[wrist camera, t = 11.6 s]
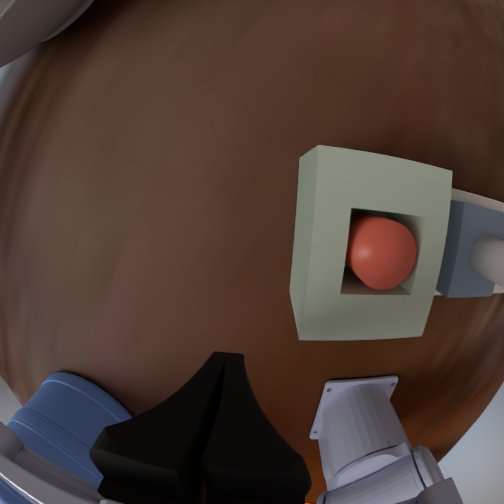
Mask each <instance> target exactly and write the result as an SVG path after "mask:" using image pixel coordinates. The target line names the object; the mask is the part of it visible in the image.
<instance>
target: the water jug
mask: <svg viewBox="0 0 504 504" xmlns="http://www.w3.org/2000/svg"><path fill="white" fill-rule="evenodd" d="M131 418H133V417H132V416H131V415H130V414H129V412H128V411H127V410H126V409H125V408H124V407H123V406H122V405H121V404H120V403H119V402H118V401H116V400H115V399H114V398H113V397H112V396H110V395H109V394H108V393H107V392H105V391H104V390H102V389H101V388H99V387H98V386H96V385H95V384H93V383H91V382H90V381H88V380H86V379H84V378H82V377H79V376H77V375H74V374H71V373H66V372H57V373H54V374H52V375H50V376H49V377H48V378H47V379H46V380H45V381H44V382H43V384H42V386H41V387H40V388H39V389H38V391H37V392H36V393H35V394H34V395H33V396H32V397H31V398H30V399H29V400H28V402H27V403H26V404H25V405H24V406H23V407H22V408H21V409H20V410H18V411H17V412H16V413H15V414H14V416H13V417H12V418H11V420H10V422H9V423H8V425H7V427H8V428H9V429H11V430H12V431H13V432H14V433H15V434H16V435H17V436H18V437H19V438H20V439H21V441H22V442H23V444H24V445H25V446H27V447H28V448H30V449H31V450H33V451H34V452H36V453H37V454H39V455H40V456H42V457H44V458H45V459H47V460H49V461H50V462H52V463H54V464H55V465H57V466H59V467H61V468H63V469H64V470H66V471H68V472H70V473H72V474H74V475H76V476H78V477H80V478H82V479H84V480H86V481H89V482H91V483H93V484H95V485H97V486H99V485H100V483H101V481H102V479H103V475H102V474H101V473H100V471H99V470H98V469H97V467H96V466H95V465H94V463H93V462H92V460H91V458H90V456H89V451H90V449H91V448H92V446H93V444H94V442H95V441H96V439H97V437H98V436H99V434H100V433H101V432H102V430H103V429H104V428H105V427H106V426H110V425H113V424H117V423H120V422H123V421H126V420H128V419H131ZM0 504H33V503H32V502H30V501H29V500H27V499H26V498H25V497H24V496H22V495H21V494H20V493H18V492H17V491H16V490H15V489H13V488H12V487H11V486H10V485H9V484H7V483H6V482H5V481H4V480H3V479H2V478H1V477H0Z"/></svg>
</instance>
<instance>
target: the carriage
mask: <svg viewBox="0 0 504 504" xmlns="http://www.w3.org/2000/svg"><path fill="white" fill-rule="evenodd" d="M495 283H496V284H497V285H499V286H501V287H502V288H504V212H500V211H496V210H493V209H489V208H485V207H482V206H478V205H474V204H470V203H465V202H460V201H454V200H451V202H450V212H449V220H448V228H447V235H446V241H445V247H444V253H443V258H442V263H441V268H440V272H439V277H438V281H437V285H436V289H435V290H437V291H438V292H439V293H441V294H442V295H443V296H445V297H446V298H461V297H483V296H492V294H493V290H494V286H495Z"/></svg>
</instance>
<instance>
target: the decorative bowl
mask: <svg viewBox="0 0 504 504" xmlns="http://www.w3.org/2000/svg"><path fill="white" fill-rule="evenodd" d="M93 1H94V0H0V68H1V67H3V66H5V65H6V64H8V63H10V62H12V61H13V60H15V59H17V58H19V57H20V56H22V55H23V54H25V53H26V52H28V51H29V50H31V49H32V48H34V47H35V46H36V45H38V44H39V43H41V42H44V41H47V40H49V39H51V38H53V37H54V36H56V35H57V34H59V33H60V32H62V31H63V30H64V29H66V28H67V27H68V26H69V25H70V24H72V23H73V22H74V21H75V20H76V19H77V18H78V17H79V16H80V15H81V14H82V13H83V12H84V11H85V10H86V9H87V8H88V7H89V6H90V5H91V4H92V2H93Z"/></svg>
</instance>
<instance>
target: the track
mask: <svg viewBox="0 0 504 504" xmlns="http://www.w3.org/2000/svg"><path fill="white" fill-rule="evenodd" d="M451 200H454V201H460V202H465V203H470V204H474V205H478V206H482V207H485V208H489V209H493V210H496V211H500V212H504V203H502V202H499V201H496V200H493V199H490V198H486V197H483V196H479V195H476V194H472V193H469V192H465V191H461V190H457V189H453V188H452V171H450V170H446V169H443V168H439V167H435V166H431V165H428V164H423V163H419V162H415V161H411V160H406V159H402V158H397V157H392V156H387V155H382V154H376V153H371V152H365V151H359V150H352V149H346V148H338V147H331V146H323V145H317V146H316V147H315V148H313V149H312V150H310V151H309V152H307V153H306V154H305V155H303V156H302V157H300V158H299V177H298V193H297V209H296V222H295V235H294V247H293V259H292V269H291V280H290V290H289V292H290V297H291V301H292V306H293V311H294V316H295V321H296V326H297V331H298V336H299V340H370V339H390V338H405V337H417V336H422V333H423V330H424V327H425V324H426V321H427V318H428V315H429V311H430V308H431V304H432V301H433V297H434V295H442V294H441V293H439V292H438V291H437V290H435V289H436V285H437V281H438V277H439V272H440V268H441V263H442V258H443V253H444V247H445V241H446V235H447V228H448V220H449V212H450V202H451ZM356 212H369V213H372V214H375V215H378V216H381V217H384V218H387V219H390V220H393V221H396V222H398V223H401V224H402V225H404V226H405V227H407V229H408V230H409V231H410V232H411V234H412V236H413V238H414V240H415V244H416V258H415V263H414V265H413V268H412V270H411V272H410V273H409V275H408V276H407V277H406V279H405V280H404V281H402V282H401V283H400V284H399V285H397V286H395V287H393V288H390V289H386V290H377V289H373V288H371V287H369V286H367V285H366V284H365V283H364V282H363V281H362V280H361V279H360V278H359V277H358V276H357V275H356V274H355V273H354V272H353V270H352V269H351V268H350V267H349V266H348V265H347V264H346V263H345V258H346V251H347V243H348V234H349V225H350V215H351V214H353V213H356ZM493 293H504V288H502V287H501V286H499V285H497V284H496V283H495V286H494V290H493Z"/></svg>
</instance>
